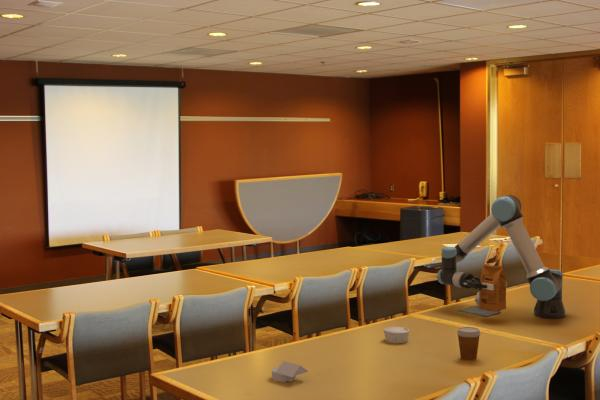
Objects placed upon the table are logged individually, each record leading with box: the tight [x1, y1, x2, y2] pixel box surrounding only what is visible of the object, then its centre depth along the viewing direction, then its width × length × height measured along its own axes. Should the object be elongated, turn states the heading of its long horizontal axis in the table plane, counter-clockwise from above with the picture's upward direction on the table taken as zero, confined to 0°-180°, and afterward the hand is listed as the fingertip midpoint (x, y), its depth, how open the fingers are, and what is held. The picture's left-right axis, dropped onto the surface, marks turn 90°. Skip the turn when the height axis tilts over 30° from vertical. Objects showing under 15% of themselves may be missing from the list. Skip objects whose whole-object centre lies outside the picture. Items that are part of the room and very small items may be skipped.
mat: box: [457, 306, 502, 318], centre depth 395 cm, size 18×12×1 cm, turn 41°
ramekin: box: [383, 326, 410, 345], centre depth 342 cm, size 11×11×5 cm
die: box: [474, 291, 480, 308], centre depth 407 cm, size 8×9×10 cm
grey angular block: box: [271, 360, 309, 383], centre depth 290 cm, size 9×7×13 cm
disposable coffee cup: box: [456, 326, 482, 362], centre depth 314 cm, size 10×10×12 cm
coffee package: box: [478, 263, 507, 312], centre depth 375 cm, size 10×12×22 cm
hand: (499, 286), depth 371 cm, fingers closed on coffee package, 9 cm apart
